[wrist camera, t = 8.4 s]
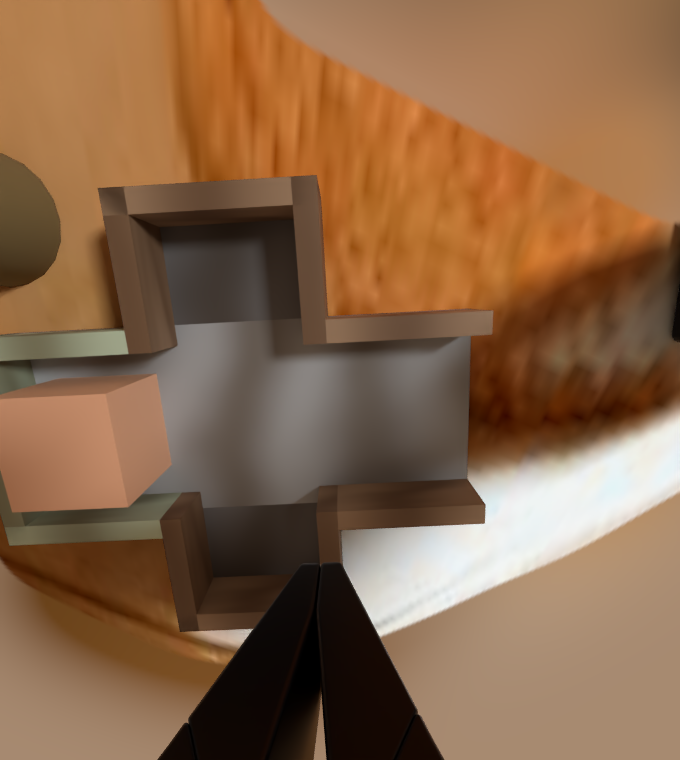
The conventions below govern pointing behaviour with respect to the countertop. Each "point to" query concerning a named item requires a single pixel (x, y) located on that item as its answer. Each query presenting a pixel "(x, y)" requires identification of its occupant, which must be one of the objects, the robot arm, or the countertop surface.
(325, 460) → the trap lane
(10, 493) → the block
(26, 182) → the olive green pepper mill
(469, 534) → the countertop surface
